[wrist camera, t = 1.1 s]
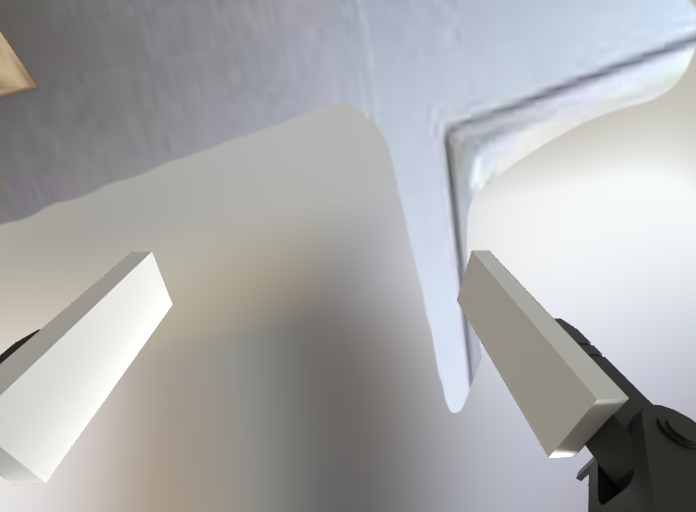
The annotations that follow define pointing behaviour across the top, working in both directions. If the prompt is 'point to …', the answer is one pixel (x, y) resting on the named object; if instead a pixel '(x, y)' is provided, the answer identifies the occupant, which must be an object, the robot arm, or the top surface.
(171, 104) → the top surface
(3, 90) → the oak block
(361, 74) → the top surface
